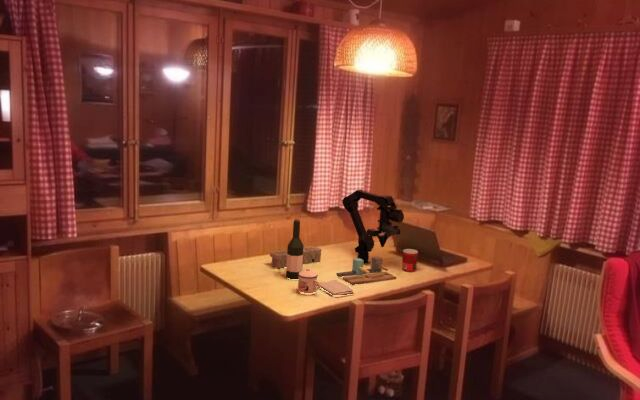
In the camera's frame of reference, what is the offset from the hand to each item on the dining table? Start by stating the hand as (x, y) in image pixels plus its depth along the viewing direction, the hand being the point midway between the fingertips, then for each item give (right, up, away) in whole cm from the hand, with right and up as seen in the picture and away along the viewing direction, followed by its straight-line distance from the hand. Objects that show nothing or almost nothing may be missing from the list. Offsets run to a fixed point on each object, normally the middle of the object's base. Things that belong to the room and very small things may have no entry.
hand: (382, 247), depth 308 cm
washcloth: (-27, -18, -36) cm, 49 cm away
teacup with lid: (-39, -18, -42) cm, 60 cm away
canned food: (+15, -13, +2) cm, 20 cm away
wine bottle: (-47, -14, -21) cm, 53 cm away
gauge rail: (-11, -14, -13) cm, 22 cm away
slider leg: (-12, -14, -13) cm, 23 cm away
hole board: (-8, -15, -17) cm, 24 cm away
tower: (-47, -10, +1) cm, 48 cm away
